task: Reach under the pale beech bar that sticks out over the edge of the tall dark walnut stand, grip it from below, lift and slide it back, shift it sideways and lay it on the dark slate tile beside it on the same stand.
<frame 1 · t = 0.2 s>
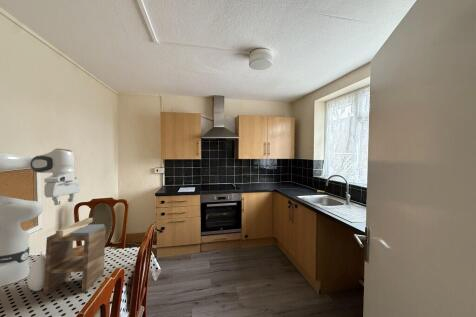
hand: (64, 203, 101), 39 cm above the table, tool pointing down, fingers open, 8 cm apart
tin: (76, 260, 116), on the table
sauce bottle: (38, 290, 89), on the table
slate tile: (88, 231, 95), resting on walnut stand
beech bar: (76, 228, 99), point 26 cm above the table, touching walnut stand
walnut stand: (75, 283, 93), on the table
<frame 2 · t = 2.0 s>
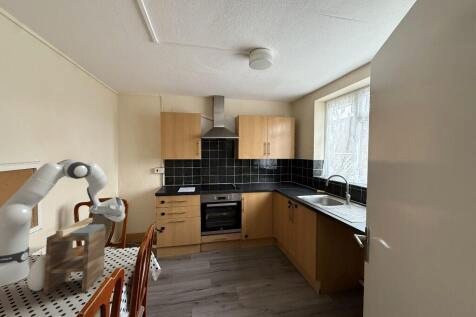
hand: (101, 206, 121), 33 cm above the table, tool pointing upward, fingers open, 8 cm apart
nothing on the table moved.
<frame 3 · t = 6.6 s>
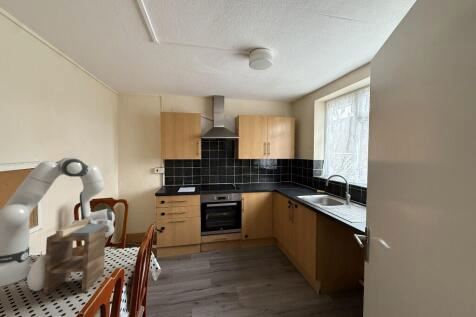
hand: (85, 221, 106), 28 cm above the table, tool pointing upward, fingers closed on beech bar, 3 cm apart
beech bar: (76, 228, 99), point 26 cm above the table, touching gripper, walnut stand
everything else where it was.
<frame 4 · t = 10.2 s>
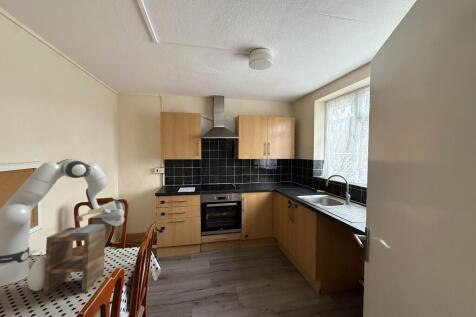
hand: (100, 209, 117), 32 cm above the table, tool pointing upward, fingers closed on beech bar, 3 cm apart
beech bar: (92, 215, 109), point 30 cm above the table, touching gripper
everything else where it was.
when the fingers open (30 cm above the table, at t = 13.7 s): beech bar drops 1 cm, resting on slate tile.
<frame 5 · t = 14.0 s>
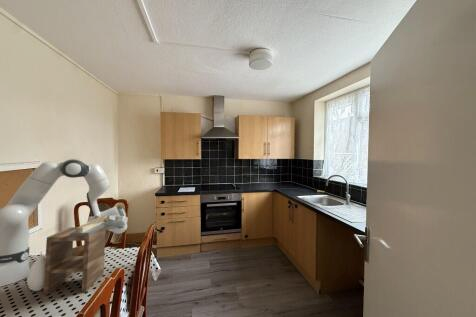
hand: (101, 217, 106), 30 cm above the table, tool pointing upward, fingers open, 5 cm apart
beech bar: (93, 225, 99), point 27 cm above the table, touching slate tile
everything else where it was.
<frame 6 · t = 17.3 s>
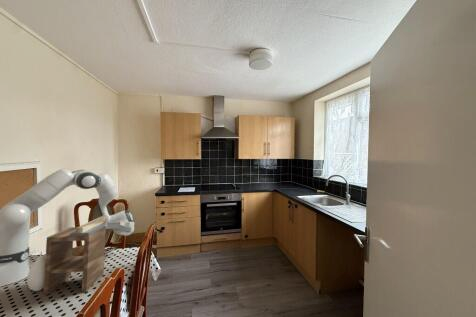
hand: (111, 223, 117), 23 cm above the table, tool pointing upward, fingers open, 8 cm apart
nothing on the table moved.
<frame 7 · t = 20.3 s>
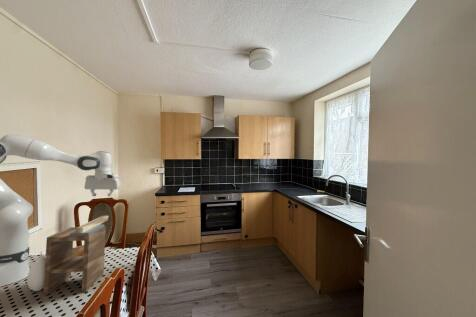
hand: (101, 196, 124), 39 cm above the table, tool pointing down, fingers open, 8 cm apart
nothing on the table moved.
at the end: beech bar inside the target area on the slate tile (0.6 cm from its centre), point 1.5 cm above the slate tile's base; the gripper is holding nothing; beech bar tilted 0° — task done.
